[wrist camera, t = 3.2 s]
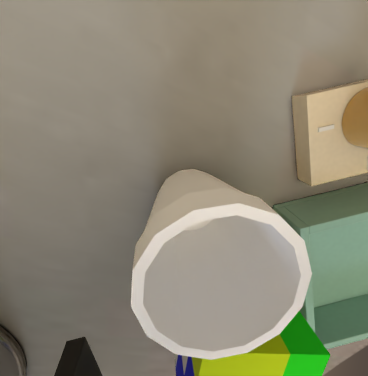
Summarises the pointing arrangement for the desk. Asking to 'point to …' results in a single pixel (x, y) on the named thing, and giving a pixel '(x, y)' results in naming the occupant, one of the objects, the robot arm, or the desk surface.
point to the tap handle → (357, 120)
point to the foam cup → (216, 269)
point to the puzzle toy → (267, 356)
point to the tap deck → (326, 135)
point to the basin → (334, 261)
